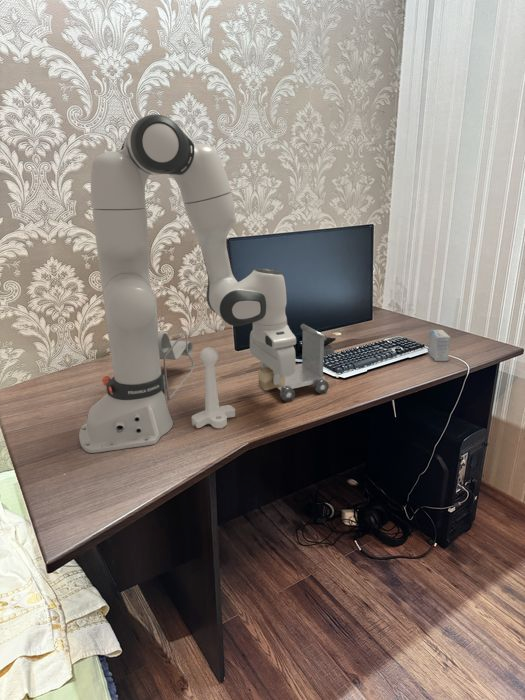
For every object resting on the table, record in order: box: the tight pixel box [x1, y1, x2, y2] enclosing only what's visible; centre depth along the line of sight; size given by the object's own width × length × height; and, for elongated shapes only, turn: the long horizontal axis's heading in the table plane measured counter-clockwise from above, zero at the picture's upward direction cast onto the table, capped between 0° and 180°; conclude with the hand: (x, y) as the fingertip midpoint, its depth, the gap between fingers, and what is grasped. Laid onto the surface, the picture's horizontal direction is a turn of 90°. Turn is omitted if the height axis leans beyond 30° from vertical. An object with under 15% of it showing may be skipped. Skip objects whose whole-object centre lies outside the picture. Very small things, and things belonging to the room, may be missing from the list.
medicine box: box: [427, 329, 451, 362], centre depth 156 cm, size 8×4×9 cm, turn 179°
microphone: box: [324, 336, 337, 346], centre depth 169 cm, size 6×6×20 cm
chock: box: [257, 367, 285, 391], centre depth 124 cm, size 6×4×4 cm, turn 115°
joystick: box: [191, 346, 236, 429], centre depth 115 cm, size 11×8×20 cm
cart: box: [276, 323, 330, 403], centre depth 134 cm, size 15×15×17 cm
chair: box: [158, 331, 195, 400], centre depth 139 cm, size 13×25×20 cm, turn 170°
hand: (271, 379), depth 125 cm, fingers closed on chock, 4 cm apart
